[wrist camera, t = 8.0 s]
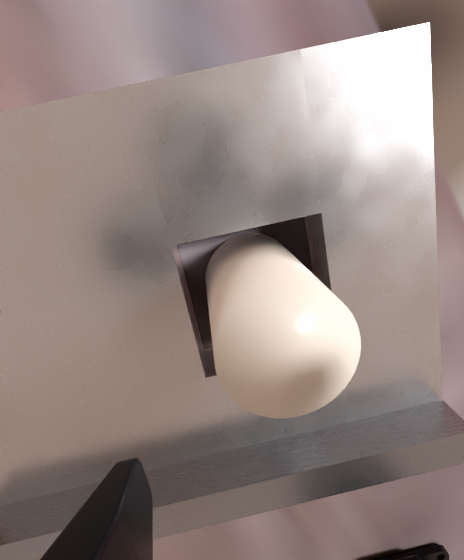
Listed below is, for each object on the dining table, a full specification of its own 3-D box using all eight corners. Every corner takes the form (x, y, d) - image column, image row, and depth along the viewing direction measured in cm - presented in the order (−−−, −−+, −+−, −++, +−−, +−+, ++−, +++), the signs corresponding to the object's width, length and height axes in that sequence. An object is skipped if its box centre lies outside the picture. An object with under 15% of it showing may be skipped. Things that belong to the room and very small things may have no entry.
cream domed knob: (301, 309, 18) (367, 400, 11) (215, 328, 18) (230, 432, 11) (288, 224, 16) (353, 269, 10) (196, 244, 16) (199, 303, 10)
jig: (413, 394, 20) (474, 460, 15) (25, 487, 19) (-24, 582, 15) (391, 44, 15) (472, -3, 10) (-137, 154, 14) (-281, 153, 10)
